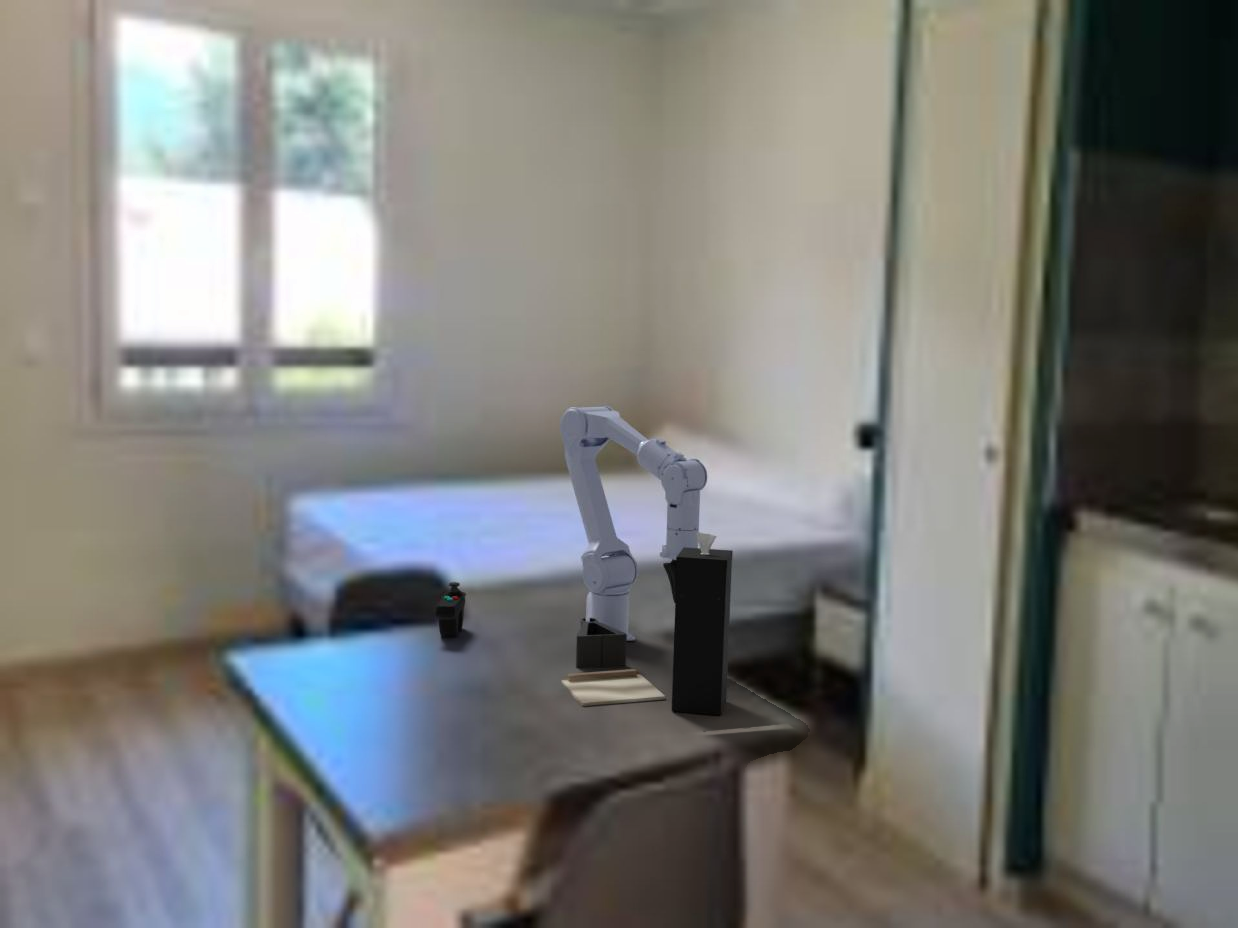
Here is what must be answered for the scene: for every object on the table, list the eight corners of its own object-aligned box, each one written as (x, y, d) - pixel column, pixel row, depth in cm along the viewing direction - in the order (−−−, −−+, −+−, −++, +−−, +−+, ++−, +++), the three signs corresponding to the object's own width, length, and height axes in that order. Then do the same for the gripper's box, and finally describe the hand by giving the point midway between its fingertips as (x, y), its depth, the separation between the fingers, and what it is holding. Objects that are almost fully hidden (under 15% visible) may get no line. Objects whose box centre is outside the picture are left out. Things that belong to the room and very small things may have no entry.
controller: (467, 631, 227) (468, 580, 226) (455, 649, 215) (456, 595, 213) (445, 630, 227) (445, 579, 226) (432, 648, 215) (432, 594, 213)
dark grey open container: (626, 667, 206) (610, 648, 218) (627, 633, 205) (610, 616, 217) (576, 669, 204) (562, 650, 216) (576, 636, 203) (563, 618, 215)
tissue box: (721, 716, 182) (728, 538, 178) (670, 712, 184) (676, 535, 180) (726, 700, 190) (733, 530, 186) (678, 696, 191) (684, 526, 188)
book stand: (561, 682, 196) (561, 674, 196) (640, 677, 201) (640, 668, 201) (582, 706, 185) (582, 696, 185) (665, 699, 190) (665, 690, 189)
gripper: (647, 521, 214) (645, 594, 216) (677, 536, 200) (674, 613, 202) (683, 520, 216) (681, 592, 218) (715, 534, 203) (712, 611, 204)
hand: (680, 602), depth 210 cm, fingers closed
